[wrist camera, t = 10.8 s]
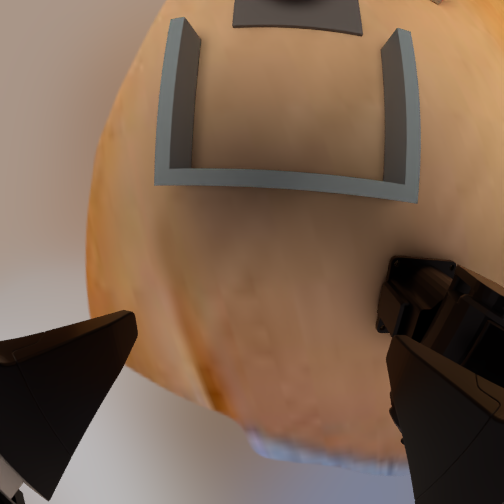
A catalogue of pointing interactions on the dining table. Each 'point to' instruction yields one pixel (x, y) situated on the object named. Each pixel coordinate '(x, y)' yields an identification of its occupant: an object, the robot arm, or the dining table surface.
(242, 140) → the dining table surface
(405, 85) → the u-shaped frame
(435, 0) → the stack of blocks
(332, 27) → the mat
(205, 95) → the dining table surface
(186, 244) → the dining table surface
